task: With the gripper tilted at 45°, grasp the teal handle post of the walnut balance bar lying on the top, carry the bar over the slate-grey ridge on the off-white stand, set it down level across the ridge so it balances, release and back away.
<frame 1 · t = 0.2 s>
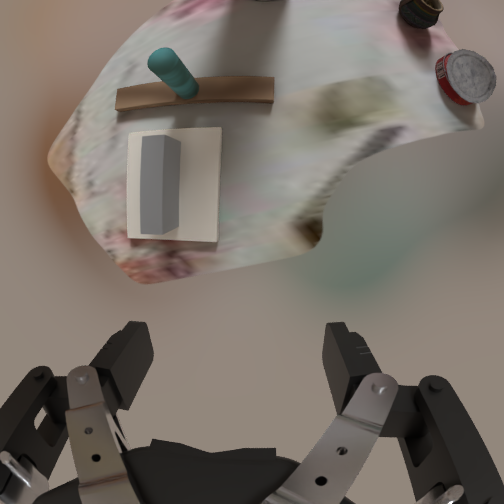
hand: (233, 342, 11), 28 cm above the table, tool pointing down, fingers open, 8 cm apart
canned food: (454, 81, 31), on the table
mate gourd: (411, 17, 28), on the table
balance bar: (191, 93, 35), on the table
ridge stand: (172, 184, 38), on the table
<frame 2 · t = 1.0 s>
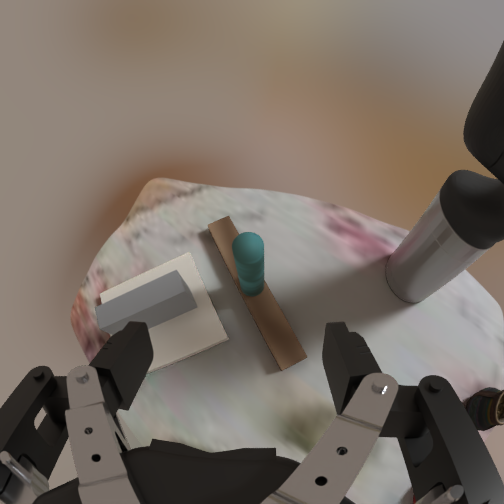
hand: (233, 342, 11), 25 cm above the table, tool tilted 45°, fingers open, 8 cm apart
mate gourd: (474, 408, 27), on the table
balance bar: (252, 290, 39), on the table
ridge stand: (159, 317, 37), on the table
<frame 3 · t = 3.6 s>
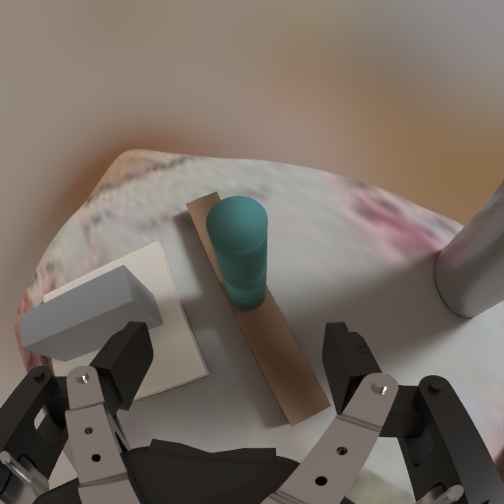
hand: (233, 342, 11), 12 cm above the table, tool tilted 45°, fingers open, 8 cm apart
balance bar: (248, 300, 26), on the table
ridge stand: (112, 334, 24), on the table
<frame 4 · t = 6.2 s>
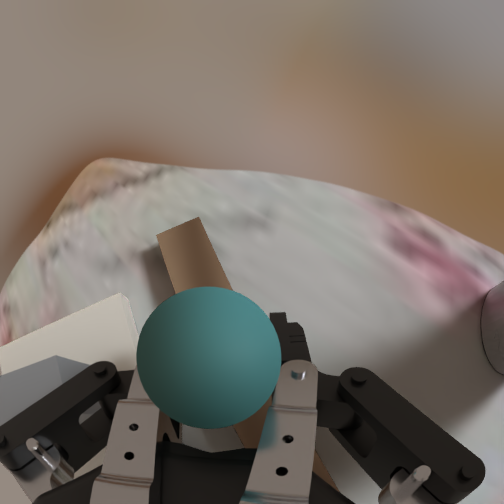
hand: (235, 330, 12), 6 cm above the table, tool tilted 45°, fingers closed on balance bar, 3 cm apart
balance bar: (244, 378, 17), on the table, touching gripper
ridge stand: (74, 408, 15), on the table
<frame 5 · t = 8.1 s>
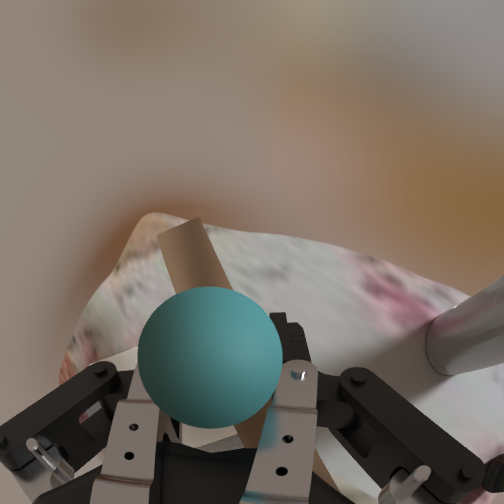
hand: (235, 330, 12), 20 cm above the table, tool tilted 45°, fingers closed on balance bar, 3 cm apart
mate gourd: (490, 470, 17), on the table
balance bar: (244, 378, 17), point 14 cm above the table, touching gripper
ridge stand: (160, 399, 28), on the table
when the fingers open (15 cm above the table, at t = 10.4 s): balance bar stays where it is, resting on ridge stand.
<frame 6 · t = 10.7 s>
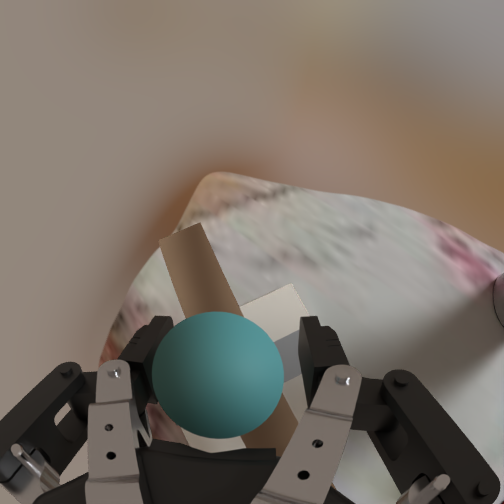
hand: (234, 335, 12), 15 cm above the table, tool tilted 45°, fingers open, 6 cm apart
balance bar: (245, 380, 17), point 8 cm above the table, touching ridge stand
ridge stand: (249, 380, 25), on the table
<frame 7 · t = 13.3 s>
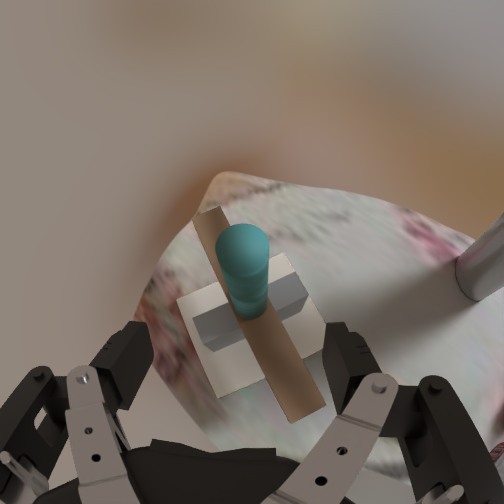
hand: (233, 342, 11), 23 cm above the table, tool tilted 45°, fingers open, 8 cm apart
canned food: (494, 466, 18), on the table
balance bar: (251, 308, 28), point 8 cm above the table, touching ridge stand
ridge stand: (253, 324, 35), on the table
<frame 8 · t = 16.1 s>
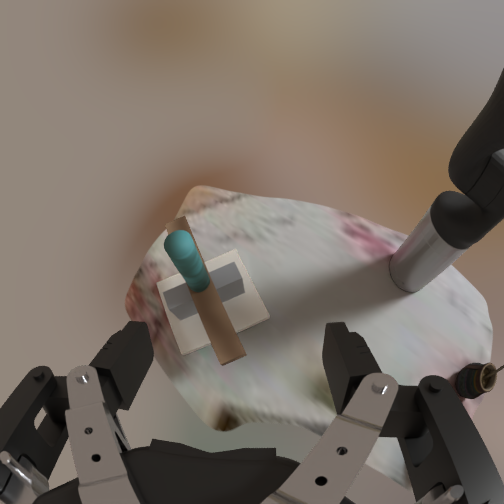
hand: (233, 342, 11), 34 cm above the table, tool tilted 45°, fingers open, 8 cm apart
mate gourd: (463, 381, 36), on the table
balance bar: (201, 286, 40), point 8 cm above the table, touching ridge stand
ridge stand: (210, 302, 47), on the table
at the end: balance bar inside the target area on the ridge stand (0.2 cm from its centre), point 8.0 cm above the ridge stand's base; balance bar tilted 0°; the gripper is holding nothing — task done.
